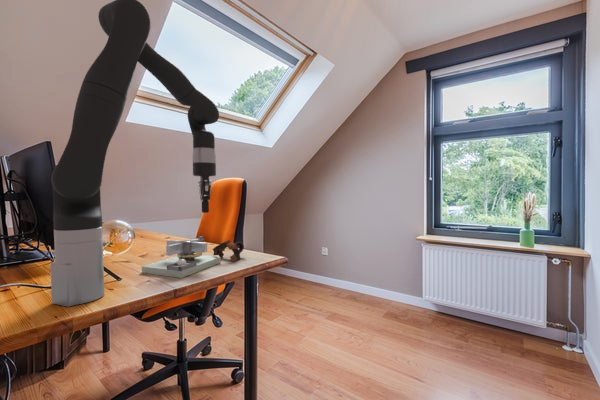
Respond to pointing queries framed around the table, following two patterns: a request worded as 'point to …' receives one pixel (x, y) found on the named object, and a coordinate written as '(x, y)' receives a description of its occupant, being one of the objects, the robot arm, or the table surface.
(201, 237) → the capstan
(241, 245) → the gnarled brown arch
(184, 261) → the ball
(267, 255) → the table surface
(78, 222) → the robot arm
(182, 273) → the stand
